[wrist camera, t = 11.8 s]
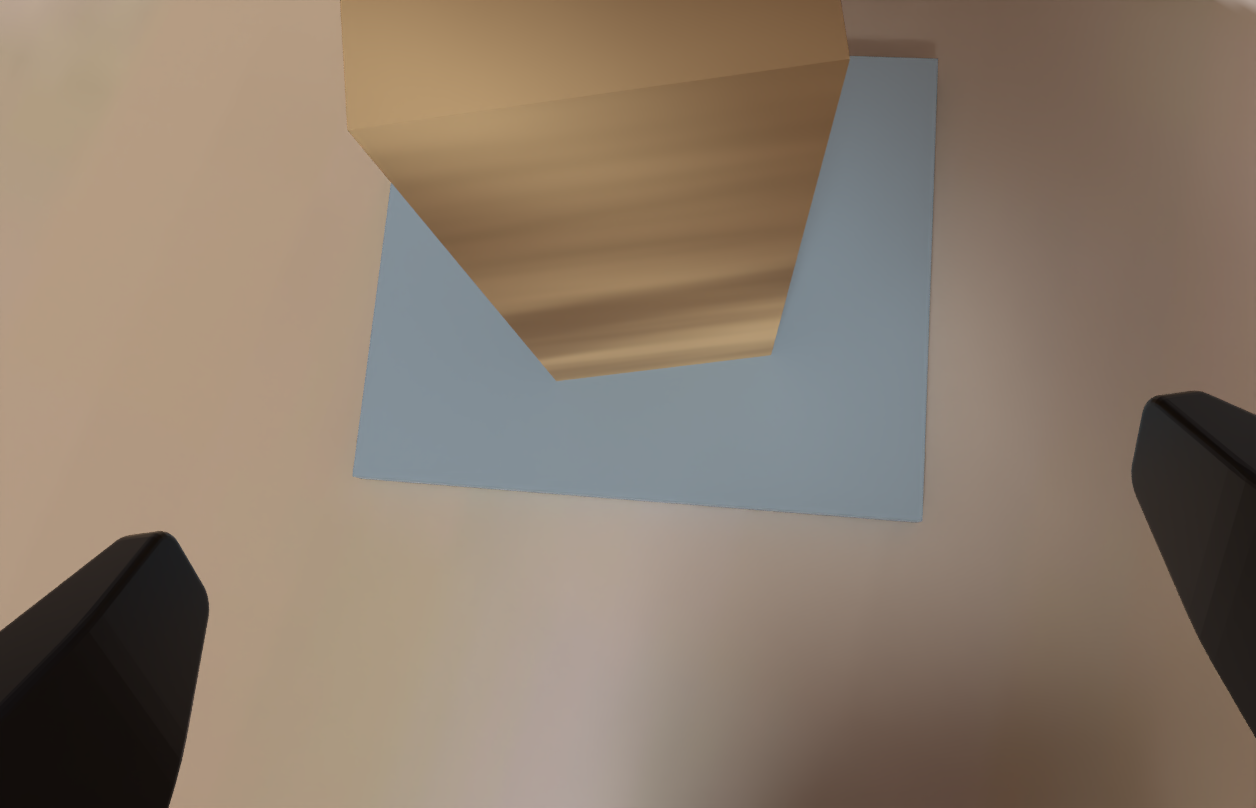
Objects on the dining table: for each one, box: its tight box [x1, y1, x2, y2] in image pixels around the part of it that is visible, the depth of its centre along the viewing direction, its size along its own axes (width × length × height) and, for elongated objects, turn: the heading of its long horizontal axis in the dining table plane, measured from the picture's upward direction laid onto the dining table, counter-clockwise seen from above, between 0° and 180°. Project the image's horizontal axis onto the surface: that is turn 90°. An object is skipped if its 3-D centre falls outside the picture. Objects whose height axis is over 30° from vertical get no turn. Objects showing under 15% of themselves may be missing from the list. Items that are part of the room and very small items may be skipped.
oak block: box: [340, 0, 850, 381], centre depth 16 cm, size 5×5×13 cm
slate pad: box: [353, 56, 938, 522], centre depth 23 cm, size 11×13×1 cm
